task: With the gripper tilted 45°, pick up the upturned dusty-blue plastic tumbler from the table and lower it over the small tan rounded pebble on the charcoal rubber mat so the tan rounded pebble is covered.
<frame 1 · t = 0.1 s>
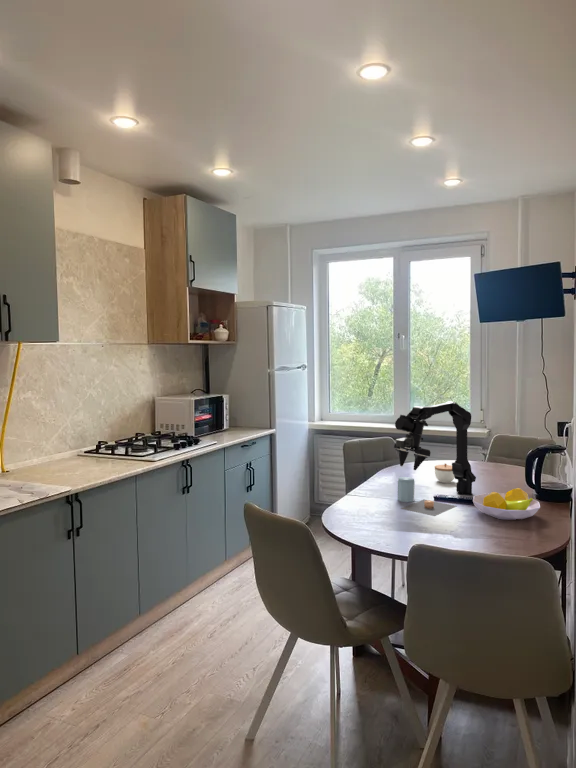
hand: (407, 468, 258), 15 cm above the table, tool pointing down, fingers open, 9 cm apart
lidded jar: (445, 482, 298), on the table
tumbler: (405, 500, 261), on the table
fruit bowl: (506, 516, 239), on the table
placemat: (428, 508, 249), on the table
tan rounded pebble: (429, 507, 249), resting on placemat
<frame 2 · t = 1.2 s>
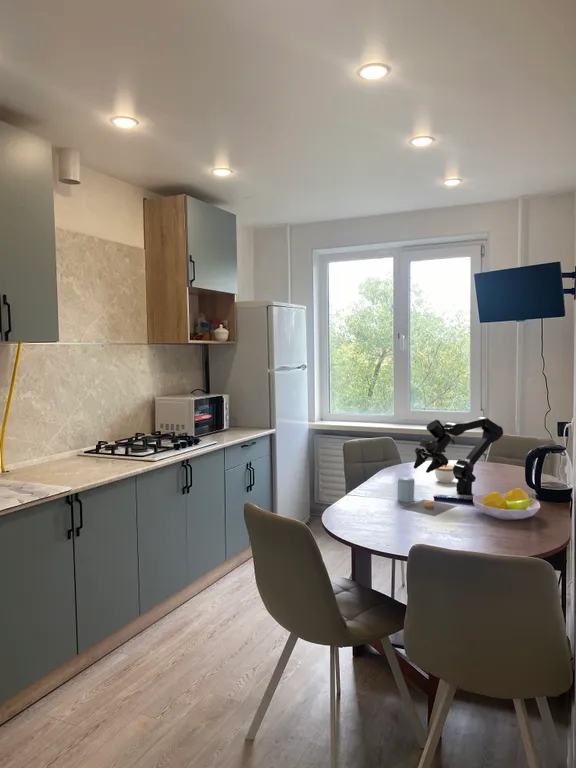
hand: (420, 470, 264), 13 cm above the table, tool tilted 45°, fingers open, 9 cm apart
nothing on the table moved.
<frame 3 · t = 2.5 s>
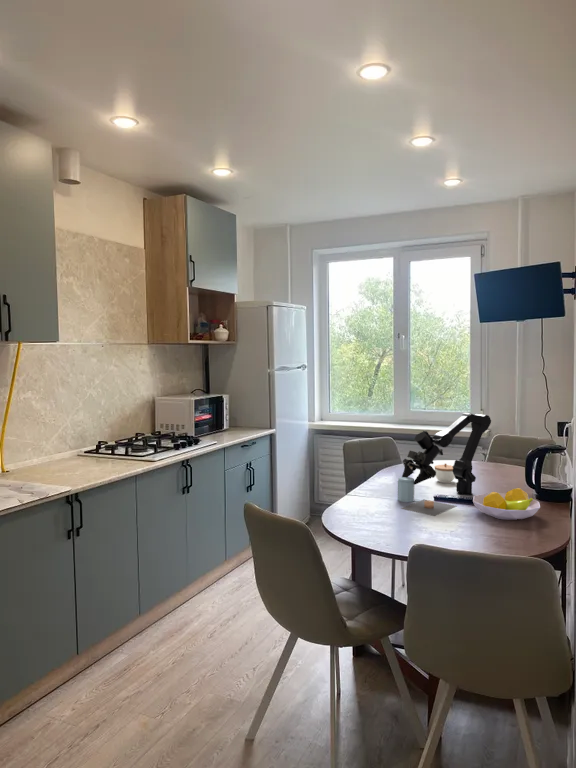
hand: (407, 481, 261), 9 cm above the table, tool tilted 45°, fingers open, 9 cm apart
nothing on the table moved.
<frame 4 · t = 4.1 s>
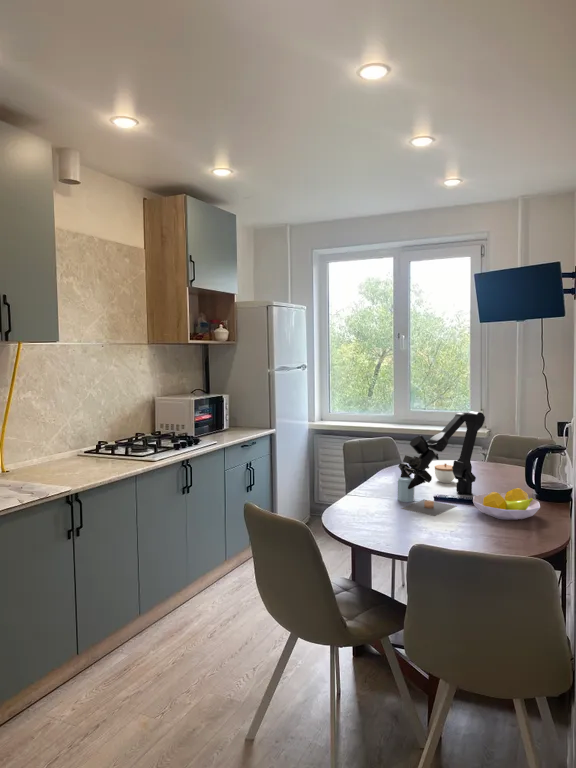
hand: (403, 486, 260), 7 cm above the table, tool tilted 45°, fingers closed on tumbler, 7 cm apart
tumbler: (405, 500, 261), on the table, touching gripper
everything else where it was.
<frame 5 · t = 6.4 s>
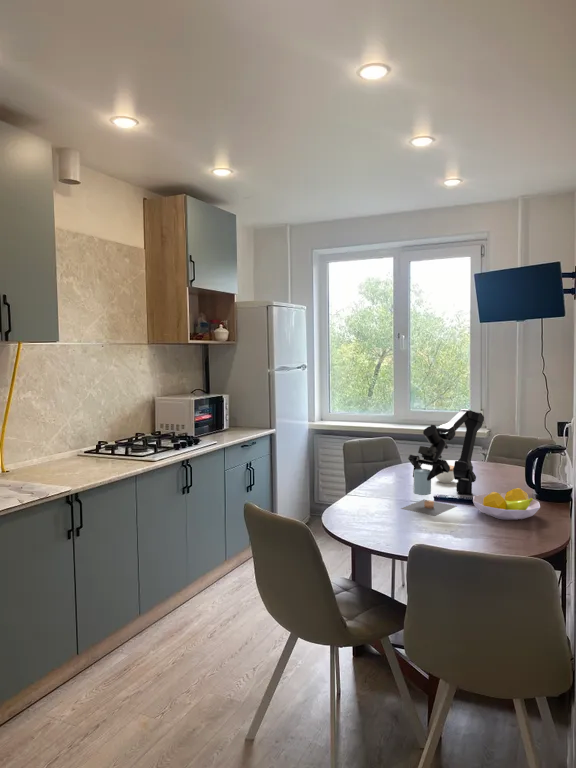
hand: (420, 478, 250), 12 cm above the table, tool tilted 45°, fingers closed on tumbler, 7 cm apart
tumbler: (422, 493, 252), point 6 cm above the table, touching gripper
everything else where it was.
when the fingers open (8 cm above the table, at t = 9.0 s): tumbler drops 1 cm, resting on placemat.
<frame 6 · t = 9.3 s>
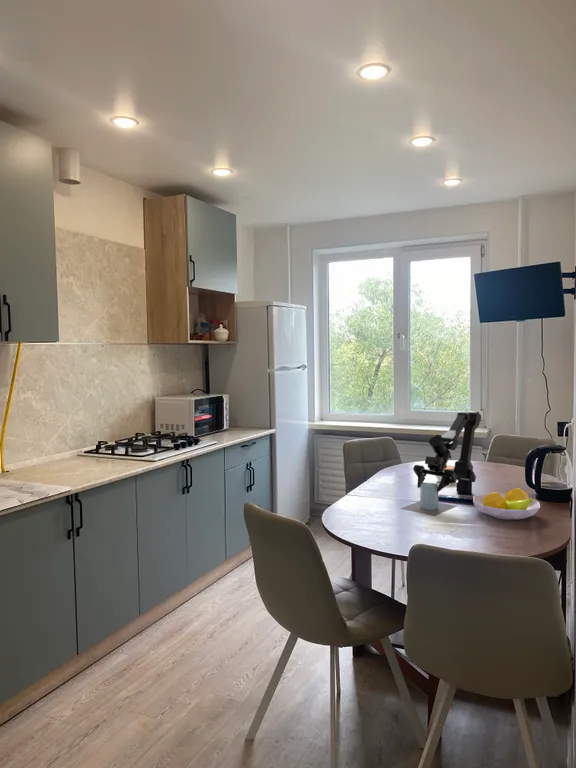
hand: (427, 489, 248), 8 cm above the table, tool tilted 45°, fingers open, 9 cm apart
tumbler: (428, 507, 249), resting on placemat
everything else where it was.
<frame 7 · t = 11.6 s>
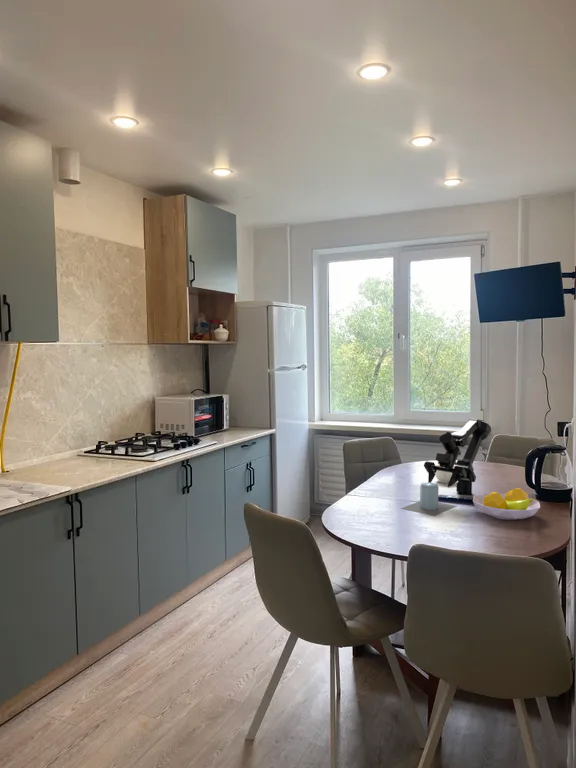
hand: (438, 485, 255), 9 cm above the table, tool tilted 45°, fingers open, 9 cm apart
nothing on the table moved.
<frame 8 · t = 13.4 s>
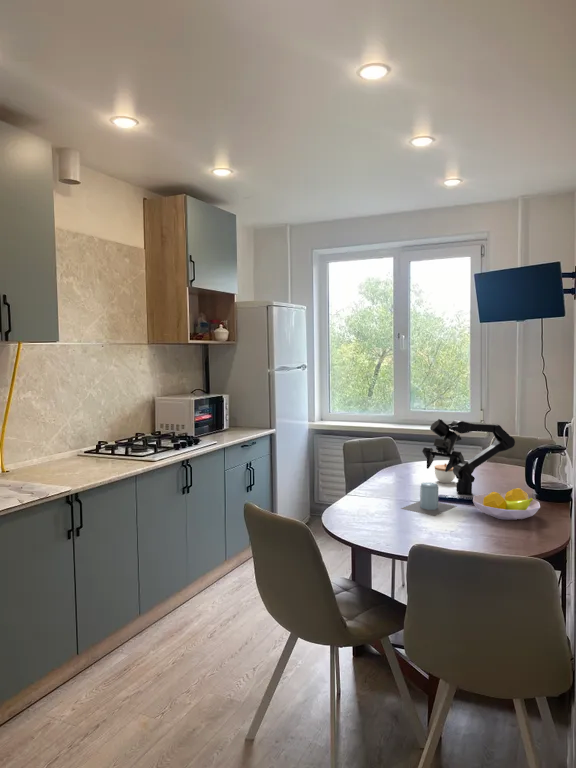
hand: (436, 469, 263), 14 cm above the table, tool tilted 45°, fingers open, 9 cm apart
nothing on the table moved.
at the end: tumbler 0.0 cm from the tan rounded pebble (horizontally); tumbler resting on placemat; tumbler tilted 0° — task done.
